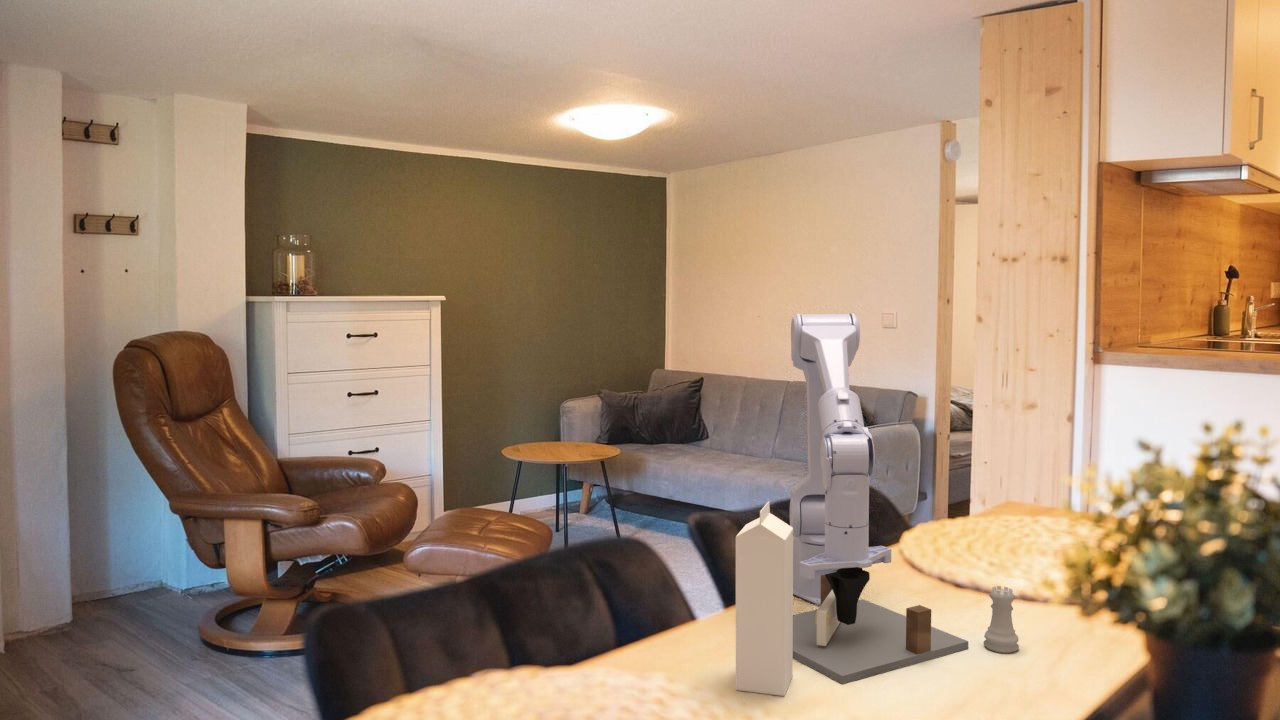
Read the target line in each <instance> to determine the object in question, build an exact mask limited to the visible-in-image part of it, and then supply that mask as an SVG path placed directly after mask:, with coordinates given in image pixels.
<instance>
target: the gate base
mask: <svg viewBox="0 0 1280 720" xmlns="http://www.w3.org/2000/svg"><path fill="white" fill-rule="evenodd" d="M817 610H818V609H815V610H814V609H813V610H810V611H806V612H805V611H804V612H801V613H795V614H793V659H794V660H796V661H798V662H800V663H801V664H803V665H805V666H807V667H809V668H811V669H813V670H815V671H817V672H818V673H820V674H823V675H825V676H826V677H828V678H831V679H832V680H834V681H836V682H837V683H839V684H841V685H843V684H846V683H847V684H848V683H852V682H854V681H858V680H861V679H865V678H869V677H872V675H873V676H876V675H879V673H880V674H883V673H887V672H890V671H893V670H898V669H900V668H905V667H908V666H911V665H915V664H918V663H921V662H925V661H929V660H933V659H937V658H940V657H943V656H947V655H951V654H954V653H957V652H962V651H964V650H968V649H969V640H967V639H963V638H962V637H959V636H957V635H953V634H951V633H949V632H946V631H944V630H942V629H939V628H937V627H934V626H931V651H928V652H925V653H921V654H915V653H913V652H910V651H908V650H906V615H903V614H901V613H900V612H897V611H894V610H891V609H889V608H887V607H884V606H882V605H878V604H876V603H874V602H871V601H868V600H866V599H864V598H861V599H859V600H858V603H857V615H856V621H855V623H854V624H850V625H847V624H844V623H842V622H840V623H839V625H838V627H837V628H836V630H835V632H834V633H833V635H832V636H831V638H830V640H829V641H828V643H827V645H826V646H822V645H817V624H815V615H816V613H817ZM875 674H876V675H875Z"/></svg>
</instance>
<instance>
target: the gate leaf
mask: <svg viewBox="0 0 1280 720" xmlns="http://www.w3.org/2000/svg"><path fill="white" fill-rule="evenodd" d="M816 610H817V613H816V615H815V624H817V645H822V646H826V645H827V643H828V641H829V640H830V638H831V636H832V635H833V633H834V632H835V630H836V628H837V627H838V625H839V623H840V621H838V619H837V613H836V598H835V595H834V592H833V590H831V592H830V593H829V595H828V596H827V597H826V599H825V600H824V602H823V603H822V604H821V605H819V607H818V608H817V609H816Z"/></svg>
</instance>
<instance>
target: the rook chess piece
mask: <svg viewBox="0 0 1280 720" xmlns="http://www.w3.org/2000/svg"><path fill="white" fill-rule="evenodd" d="M988 596H989V598H990V599H991V600H992V604H991V605H990V607H991V610H992V611H991V612H992V613H991V618H990V619H991V621H990V624H989V626H988V627H987V630H986V631H985V632H984V635H983V637H984V638H985V640H984V641H983V644H984V647H985V648H986V649H987V650H989V651H991V652H995V653H1000V654H1013V653H1015V652H1016V651H1017V650H1018V649H1020V648H1019V647H1020V645H1019V644H1018V642H1019V636H1018V635H1017V634H1016V629H1014V626H1013V618H1012V611H1013V610H1014V607H1013V606H1012V603H1013V601H1015V599H1016V596H1015V594H1014V593H1013V589H1012V588H1009V587H1007V586H1004V588H1003V589H1002V586H1001V585H999V586H998V585H997V586H993V587H992V589H991V592H990V593H989V594H988Z"/></svg>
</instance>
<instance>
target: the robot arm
mask: <svg viewBox="0 0 1280 720" xmlns="http://www.w3.org/2000/svg"><path fill="white" fill-rule="evenodd" d="M860 339H861V326H860V321H859V318H858V316H857V315H856V314H855V313H853V312H851V313H838V314H837V313H836V314H835V313H825V314H824V313H823V314H821V313H820V314H819V313H818V314H817V313H815V314H814V313H813V314H810V313H809V314H808V313H807V314H803V313H801V314H800V313H795V314H794V315H793V317H792V318H791V323H790V348H791V349H790V352H791V353H790V356H791V361H792V366H793V367H794V368H796V369H799V370H800V371H802V372H803V376H804V380H805V384H806V417H807V419H806V421H807V422H806V425H807V475H806V476H804V477H803V478H802V479H801V480H800V481H798V482H796V483H795V484H794V485H793V486H792V489H791V491H790V501H789V526H791V527H792V528H793V596H797V597H799V598H801V599H803V600H806V601H808V602H810V603H812V604H815V605H818V606H821V575H825V576H826V578H827V580H828V582H829V583H830V585H831V588H832V590H833V592H834V595H835V598H836V613H837V619H838V621H840V622H842V623H844V624H847V625H850V624H854V623H855V621H856V615H857V603H858V600H860V598H861V595H862V593H863V591H864V588H865V587H866V585H867V584H868V582H870V577H871V575H870V572H869V571H867V570H864V569H866V568H869V567H870V568H871V567H872V566H873V565H876V564H881V563H882V564H890V563H892V548H890V547H886V546H883V545H877V546H876V545H875V546H869V545H870V544H869V541H870V540H869V536H870V535H869V531H870V529H869V527H870V525H869V524H870V520H869V518H870V517H869V515H870V511H869V509H870V478H869V477H872V476H873V475H874V470H875V464H876V463H875V461H876V458H875V457H876V454H875V453H876V452H875V451H876V450H875V445H874V440H873V435H872V433H871V432H869V431H870V430H869V427H867V426H866V427H865V423H864V418H863V417H864V416H863V412H862V406H861V401H860V397H859V396H858V394H857V393H856V392H854V391H853V390H851V389H850V377H849V376H850V375H849V372H850V371H849V367H851V365H852V364H853V361H854V359H855V356H856V354H857V352H858V350H859V347H860V342H861V340H860ZM868 476H869V477H868ZM811 495H824V496H811Z"/></svg>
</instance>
